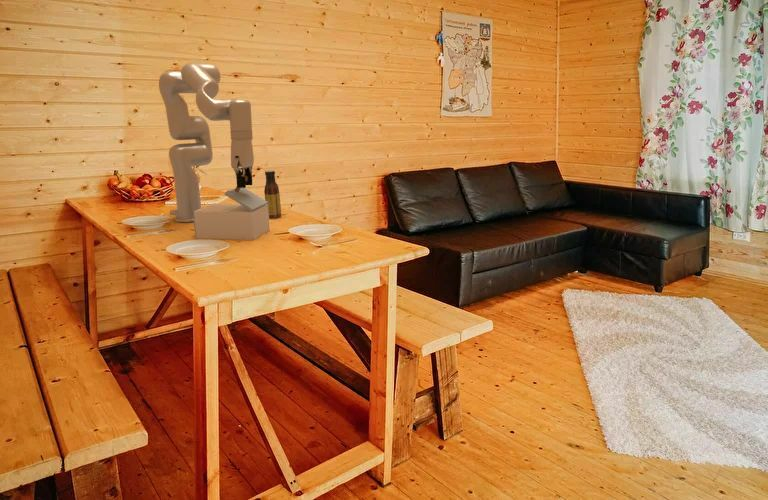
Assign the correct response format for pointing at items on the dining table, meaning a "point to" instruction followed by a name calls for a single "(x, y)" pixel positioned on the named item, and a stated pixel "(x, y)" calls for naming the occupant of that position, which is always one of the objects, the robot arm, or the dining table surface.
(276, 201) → the sauce bottle
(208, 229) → the carton
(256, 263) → the dining table surface
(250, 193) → the flap
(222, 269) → the dining table surface
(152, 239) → the dining table surface
